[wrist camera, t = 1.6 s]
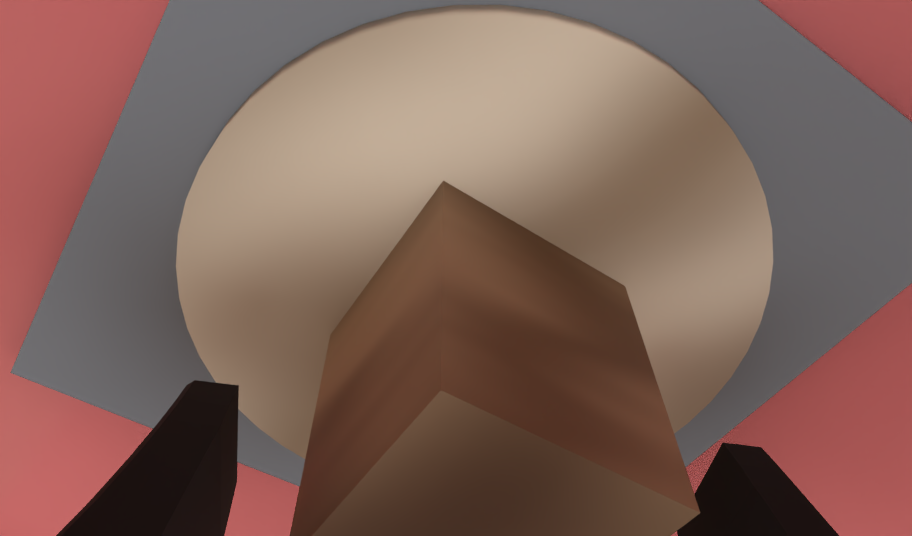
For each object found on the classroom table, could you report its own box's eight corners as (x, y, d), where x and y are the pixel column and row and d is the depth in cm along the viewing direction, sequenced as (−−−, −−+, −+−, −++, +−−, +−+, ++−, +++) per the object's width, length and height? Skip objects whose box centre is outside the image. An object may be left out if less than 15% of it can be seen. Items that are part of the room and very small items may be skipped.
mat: (998, 190, 14) (1012, 201, 13) (542, 568, 20) (543, 582, 20) (323, -345, 9) (319, -348, 9) (19, 359, 16) (10, 372, 16)
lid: (887, 222, 14) (1110, 459, 9) (530, 533, 19) (557, 784, 14) (368, -155, 10) (303, -80, 6) (103, 354, 15) (-44, 611, 11)
